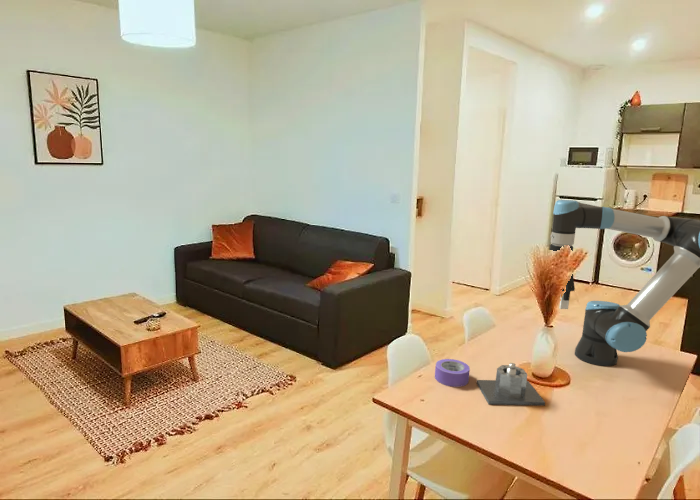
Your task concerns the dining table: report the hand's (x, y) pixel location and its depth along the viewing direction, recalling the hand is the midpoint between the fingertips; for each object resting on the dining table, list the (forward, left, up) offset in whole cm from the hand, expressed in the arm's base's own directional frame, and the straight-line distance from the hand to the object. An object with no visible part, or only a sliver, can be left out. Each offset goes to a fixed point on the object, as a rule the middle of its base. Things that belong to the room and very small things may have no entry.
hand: (554, 302), depth 169 cm
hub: (+20, +18, -25) cm, 37 cm away
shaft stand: (+20, +18, -27) cm, 38 cm away
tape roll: (+37, +8, -27) cm, 46 cm away
